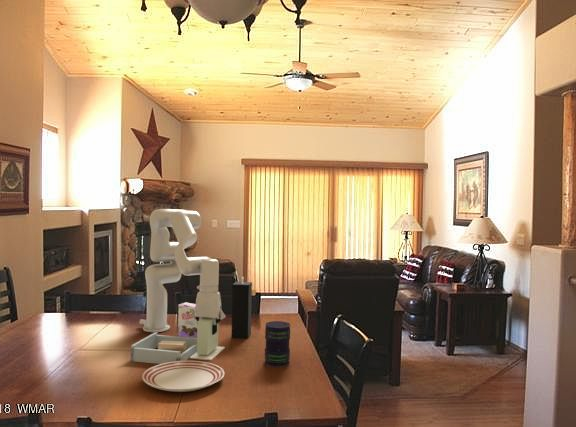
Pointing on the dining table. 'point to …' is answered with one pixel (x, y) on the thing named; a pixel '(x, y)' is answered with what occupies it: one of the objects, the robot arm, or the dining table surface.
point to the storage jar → (277, 344)
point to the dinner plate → (183, 375)
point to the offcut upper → (172, 346)
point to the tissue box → (241, 309)
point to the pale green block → (206, 336)
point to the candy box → (187, 320)
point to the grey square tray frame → (148, 354)
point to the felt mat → (210, 355)
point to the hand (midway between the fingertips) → (208, 332)
